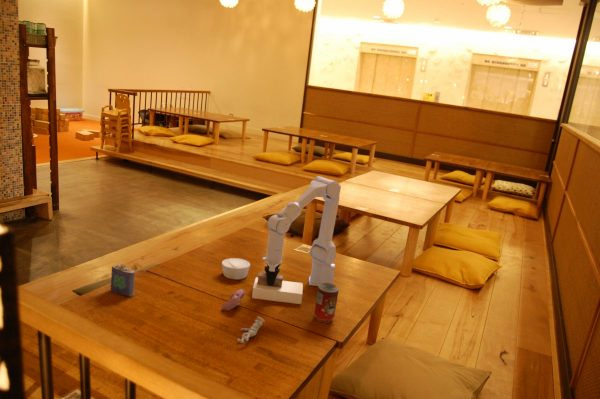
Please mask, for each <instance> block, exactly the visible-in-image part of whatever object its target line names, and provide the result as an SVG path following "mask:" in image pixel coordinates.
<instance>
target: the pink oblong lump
mask: <svg viewBox="0 0 600 399" xmlns="http://www.w3.org/2000/svg"><path fill="white" fill-rule="evenodd" d="M245 294H246V290H244V289H242V288H240V289H238V290H236V291H235V292H233V293H232V294H230V296H229V299H230V300H228V301H226V302H224V303H223V304H222V305H221V309H222V310H223V311H230V310H232V309H235V308H236V306H240V305H241V300H242V299H244V297H245V296H246V295H245Z"/></svg>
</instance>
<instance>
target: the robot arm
mask: <svg viewBox="0 0 600 399" xmlns="http://www.w3.org/2000/svg"><path fill="white" fill-rule="evenodd" d="M341 188H342V186H341V184H339V182H338V180H337V181H336V180H332V179H328V178H325V177H323V176H321V175H318V176H316V177H315V178H314V179H312V181H310V184H309V187H308V188H306V190H305V191H304V192H303V193H302V194H301V195H300V196H299V197H298V198H297V200H296V201H291V202H288V203H287V204H286V205H285V207H284V208H283V209H281V210H280V211H279V212H278V213H277V214H273V215H272V216H269V218H268V220H267V222H266V227H267V229H268V231H267V233H268V239H267V246H266V256H263V257H262V261H263V262H265V263H266V266H264V268H263V269H264V271H265V273H266V276H267V285H268V286H273V285H274V282H275V279H276V276H277V275H279V274H280V271H281V268H280V266H281V264H282V262H283V259H282V258H283V253H284V252H283V251H284V245H285V244H284V243H285V237H286V235H285V234H286V233H287V232H288V231H289V230H290V227H291V226H292V223H293V222H294V221H295V220H296V219H297V218H298V217H299V216H300V215H301V214H302V209H304V207H306V206H307V205H309V203H311V202H312V201H313V200H315V199H316V198H322V199H323V200H324V204H323V210H322V215H321V216H322V217H321V221H320V226H319V231H318V237H317V238H316V239H315V240H313V242H312V245H311V248H310V249H309V256H310V257H311V261H312V263H311V270H310V276H308V286H316V287H318V286H319V285H320V284H323V283H330V284H333V283H334V278H335V269H336V264H335V263H334V262H335V261H336V257H337V253H336V249H337V248H336V247H337V246H336V245H335V243H334V242H333V237H334V236H333V235H334V229H335V225H336V220H337V214H338V209H339V204H340V203H339V202H340V195H341V194H340V193H341ZM333 285H334V284H333Z"/></svg>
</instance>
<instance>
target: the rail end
mask: <svg viewBox="0 0 600 399" xmlns="http://www.w3.org/2000/svg"><path fill="white" fill-rule="evenodd" d="M257 277H258V283H257V285H264V286H268V285H267V276H266V272H265V273H264V272H258V276H257ZM283 278H284V275H281V274H277V276H276V279H275V282H274V285H273V286H272V287H280V288H282V281H284V280H283Z"/></svg>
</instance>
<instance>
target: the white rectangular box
mask: <svg viewBox="0 0 600 399" xmlns="http://www.w3.org/2000/svg"><path fill="white" fill-rule="evenodd" d="M253 283H254V284H253V287H252V295H251V299H256V300H264V301H271V302H272V301H273V302H280V303H289V304H297V305H301V304H302V302H303V301H302V299H303V293H304V292H303V288H304V287H303V282H297V281H296V282H295V281H289V280H288V281H287V280H282V288H280V287H272V286H264V285H257V283H258V276H257V277H255V279H254V282H253Z"/></svg>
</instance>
